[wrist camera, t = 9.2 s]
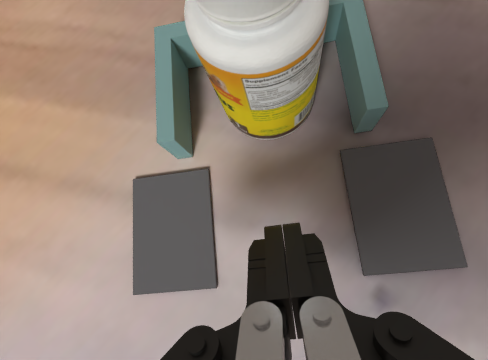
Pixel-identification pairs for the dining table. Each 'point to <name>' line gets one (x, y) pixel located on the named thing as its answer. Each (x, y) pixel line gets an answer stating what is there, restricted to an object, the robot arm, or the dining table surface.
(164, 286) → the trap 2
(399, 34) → the dining table surface
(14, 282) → the dining table surface
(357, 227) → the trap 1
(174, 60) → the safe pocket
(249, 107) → the supplement bottle
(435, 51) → the dining table surface
